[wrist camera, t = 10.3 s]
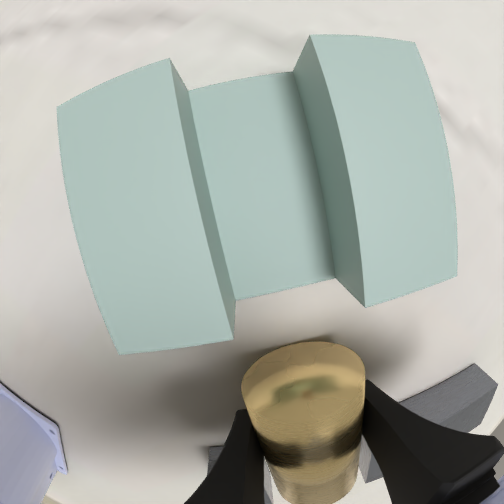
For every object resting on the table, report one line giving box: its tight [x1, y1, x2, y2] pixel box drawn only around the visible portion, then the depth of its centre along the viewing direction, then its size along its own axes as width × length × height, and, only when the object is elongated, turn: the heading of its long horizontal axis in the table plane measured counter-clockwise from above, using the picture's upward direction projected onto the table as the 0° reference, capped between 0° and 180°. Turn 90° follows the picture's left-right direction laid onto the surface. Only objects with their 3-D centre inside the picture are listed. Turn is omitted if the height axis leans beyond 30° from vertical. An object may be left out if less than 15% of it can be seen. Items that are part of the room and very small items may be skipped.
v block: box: [57, 35, 458, 355], centre depth 8 cm, size 7×10×4 cm
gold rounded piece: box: [241, 341, 365, 504], centre depth 10 cm, size 8×4×4 cm, turn 12°
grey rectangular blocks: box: [207, 364, 498, 504], centre depth 12 cm, size 4×18×3 cm, turn 102°
